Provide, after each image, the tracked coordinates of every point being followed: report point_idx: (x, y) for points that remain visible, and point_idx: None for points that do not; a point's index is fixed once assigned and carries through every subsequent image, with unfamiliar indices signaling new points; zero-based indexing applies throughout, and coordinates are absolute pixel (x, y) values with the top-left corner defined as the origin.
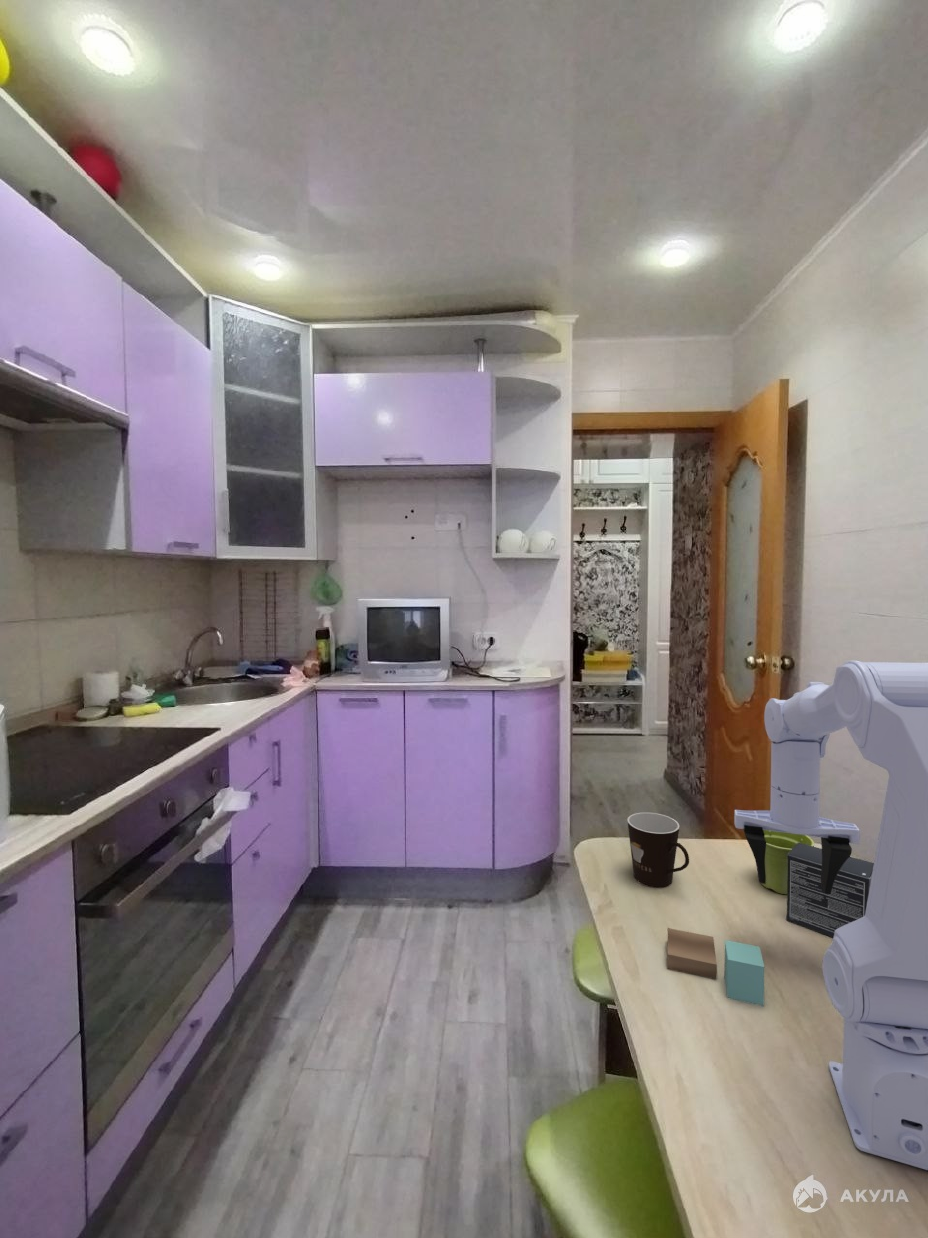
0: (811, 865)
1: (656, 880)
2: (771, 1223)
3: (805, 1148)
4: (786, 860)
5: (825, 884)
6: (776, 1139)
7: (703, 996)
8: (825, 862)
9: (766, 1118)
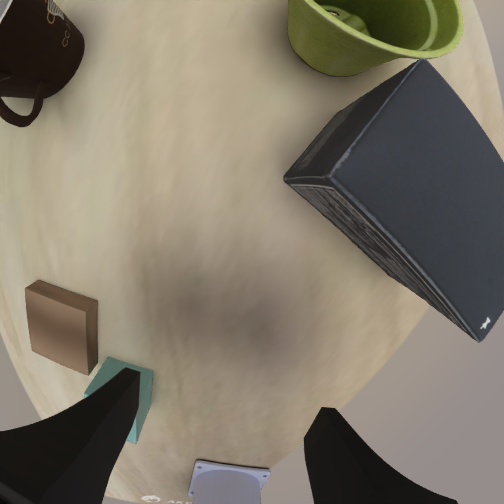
0: (392, 244)
1: (34, 97)
2: (129, 500)
3: (155, 488)
4: (358, 49)
5: (307, 461)
6: (137, 483)
7: (83, 385)
8: (333, 500)
9: (133, 476)
